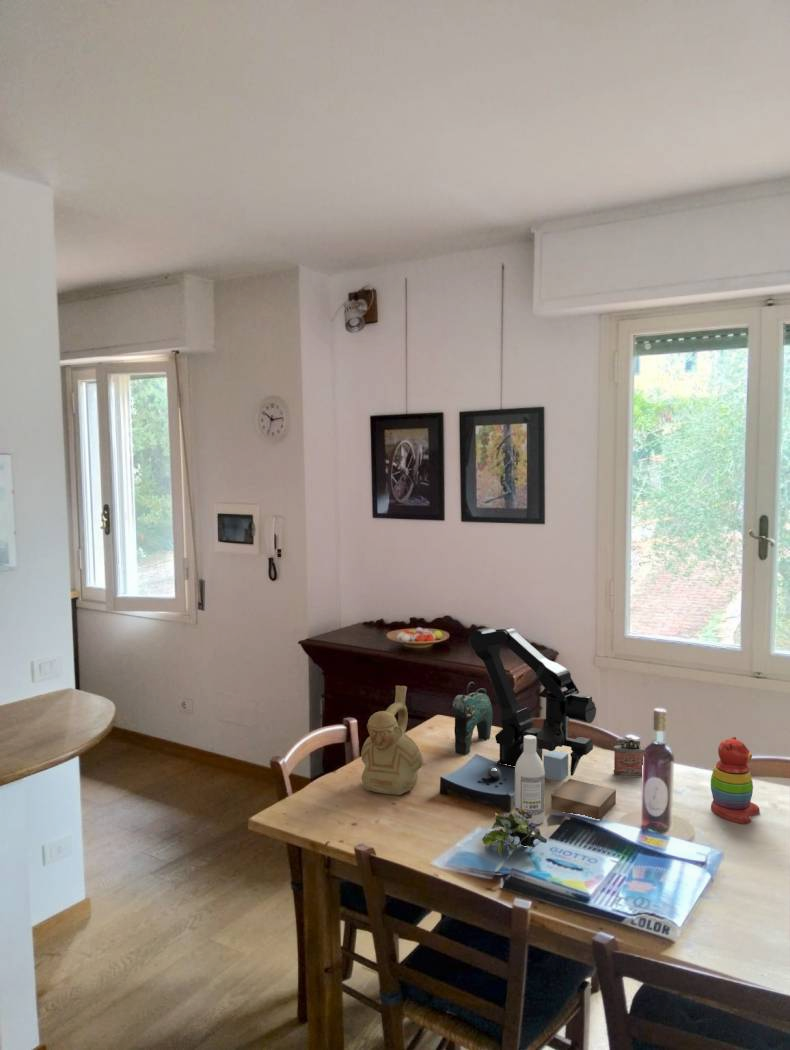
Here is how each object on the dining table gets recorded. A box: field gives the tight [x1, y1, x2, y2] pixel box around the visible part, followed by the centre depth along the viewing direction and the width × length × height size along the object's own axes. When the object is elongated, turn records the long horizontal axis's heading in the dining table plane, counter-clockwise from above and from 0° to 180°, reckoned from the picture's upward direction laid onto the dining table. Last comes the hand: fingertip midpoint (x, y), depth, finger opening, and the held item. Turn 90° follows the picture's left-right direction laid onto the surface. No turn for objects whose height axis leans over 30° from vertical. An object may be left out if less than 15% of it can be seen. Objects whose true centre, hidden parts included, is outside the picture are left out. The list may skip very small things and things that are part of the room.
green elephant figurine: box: [451, 681, 493, 756], centre depth 232 cm, size 20×6×20 cm, turn 147°
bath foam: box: [514, 735, 546, 826], centre depth 183 cm, size 7×7×20 cm
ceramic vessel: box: [360, 685, 424, 796], centre depth 202 cm, size 17×20×25 cm
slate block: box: [543, 750, 569, 782], centre depth 209 cm, size 5×5×6 cm
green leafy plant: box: [481, 808, 548, 858], centre depth 167 cm, size 11×11×12 cm
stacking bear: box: [710, 736, 761, 825], centre depth 186 cm, size 11×10×18 cm
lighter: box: [613, 737, 646, 778], centre depth 210 cm, size 8×3×10 cm, turn 84°
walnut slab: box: [550, 778, 617, 820], centre depth 190 cm, size 12×12×4 cm
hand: (555, 771), depth 209 cm, fingers open, 9 cm apart
